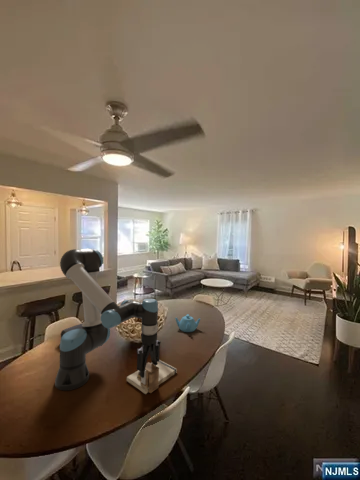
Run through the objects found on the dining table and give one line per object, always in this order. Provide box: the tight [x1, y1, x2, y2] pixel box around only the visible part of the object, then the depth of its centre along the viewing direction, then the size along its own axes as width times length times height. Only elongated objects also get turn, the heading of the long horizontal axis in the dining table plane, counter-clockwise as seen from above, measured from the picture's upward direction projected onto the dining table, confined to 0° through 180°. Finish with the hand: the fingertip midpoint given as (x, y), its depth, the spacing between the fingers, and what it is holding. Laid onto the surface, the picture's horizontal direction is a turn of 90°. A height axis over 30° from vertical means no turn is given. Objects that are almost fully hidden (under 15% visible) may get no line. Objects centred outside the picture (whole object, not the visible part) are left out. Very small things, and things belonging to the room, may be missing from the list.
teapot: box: [174, 313, 201, 333], centre depth 176 cm, size 15×15×11 cm
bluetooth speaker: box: [60, 322, 84, 338], centre depth 155 cm, size 23×9×10 cm, turn 143°
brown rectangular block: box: [137, 361, 159, 394], centre depth 109 cm, size 5×12×10 cm, turn 50°
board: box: [126, 359, 178, 395], centre depth 116 cm, size 22×14×2 cm, turn 141°
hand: (148, 380), depth 108 cm, fingers closed on brown rectangular block, 5 cm apart
